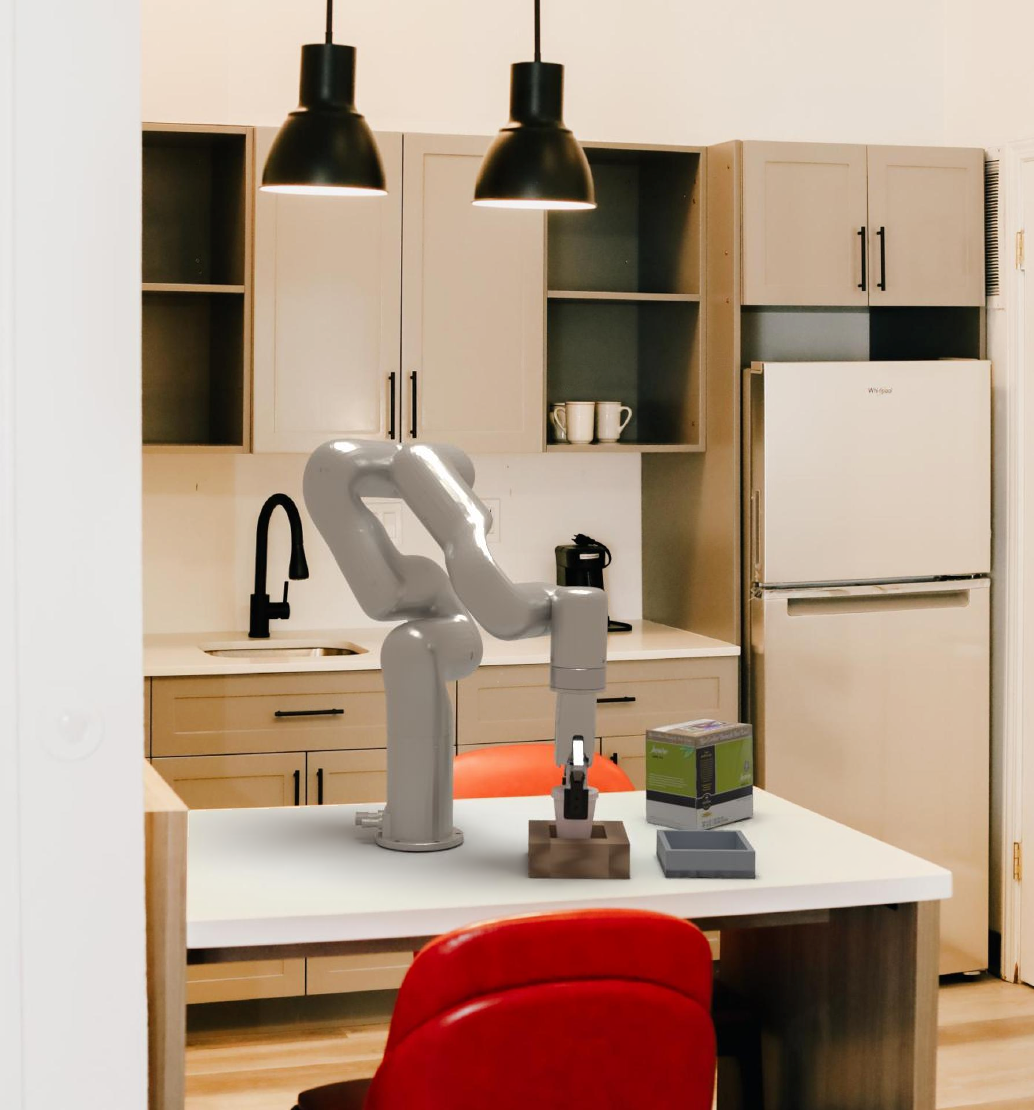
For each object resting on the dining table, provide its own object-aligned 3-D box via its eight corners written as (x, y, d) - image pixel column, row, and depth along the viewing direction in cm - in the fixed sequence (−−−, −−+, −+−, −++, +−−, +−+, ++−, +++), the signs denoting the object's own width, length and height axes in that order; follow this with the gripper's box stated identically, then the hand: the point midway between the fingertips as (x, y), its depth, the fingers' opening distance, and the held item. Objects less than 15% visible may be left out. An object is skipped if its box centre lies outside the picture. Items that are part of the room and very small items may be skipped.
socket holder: (529, 877, 174) (529, 843, 174) (528, 852, 187) (528, 820, 187) (629, 878, 174) (630, 844, 174) (621, 853, 187) (622, 820, 187)
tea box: (702, 807, 216) (703, 716, 216) (754, 818, 209) (756, 723, 209) (643, 822, 205) (644, 726, 205) (696, 834, 198) (697, 734, 198)
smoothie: (593, 869, 177) (596, 763, 176) (545, 865, 178) (548, 760, 177) (600, 856, 183) (603, 754, 182) (553, 853, 184) (556, 751, 184)
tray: (665, 877, 174) (665, 850, 174) (656, 854, 186) (656, 829, 186) (755, 878, 174) (755, 851, 174) (740, 855, 186) (740, 830, 186)
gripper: (548, 670, 188) (545, 798, 189) (551, 687, 171) (547, 828, 172) (601, 671, 188) (598, 799, 189) (610, 689, 171) (606, 829, 172)
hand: (574, 811), depth 180 cm, fingers closed on smoothie, 6 cm apart
